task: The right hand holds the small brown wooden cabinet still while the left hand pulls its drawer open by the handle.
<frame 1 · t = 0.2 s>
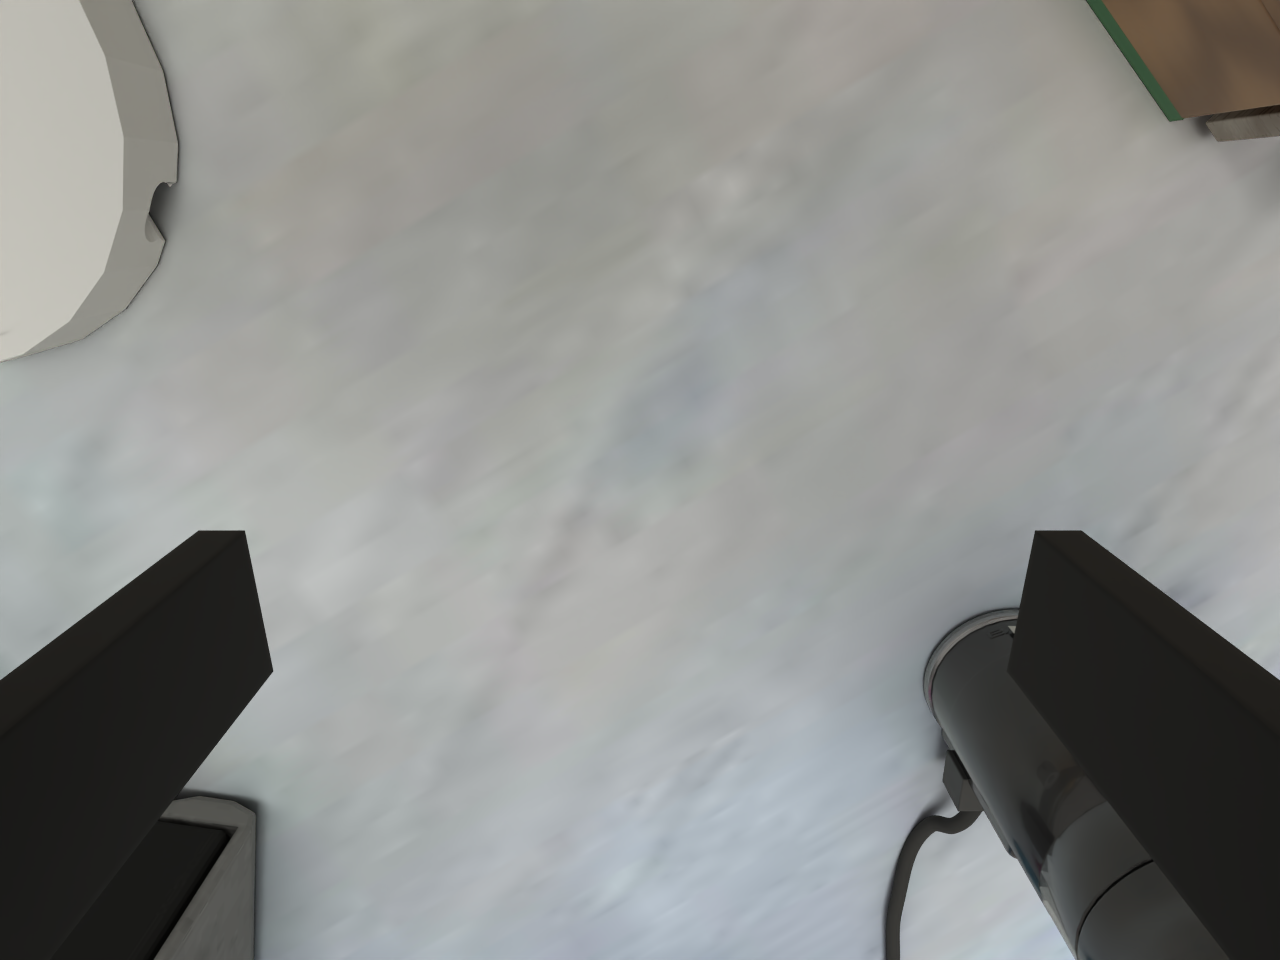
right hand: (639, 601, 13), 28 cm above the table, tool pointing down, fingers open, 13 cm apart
electronic device: (19, 878, 52), on the table
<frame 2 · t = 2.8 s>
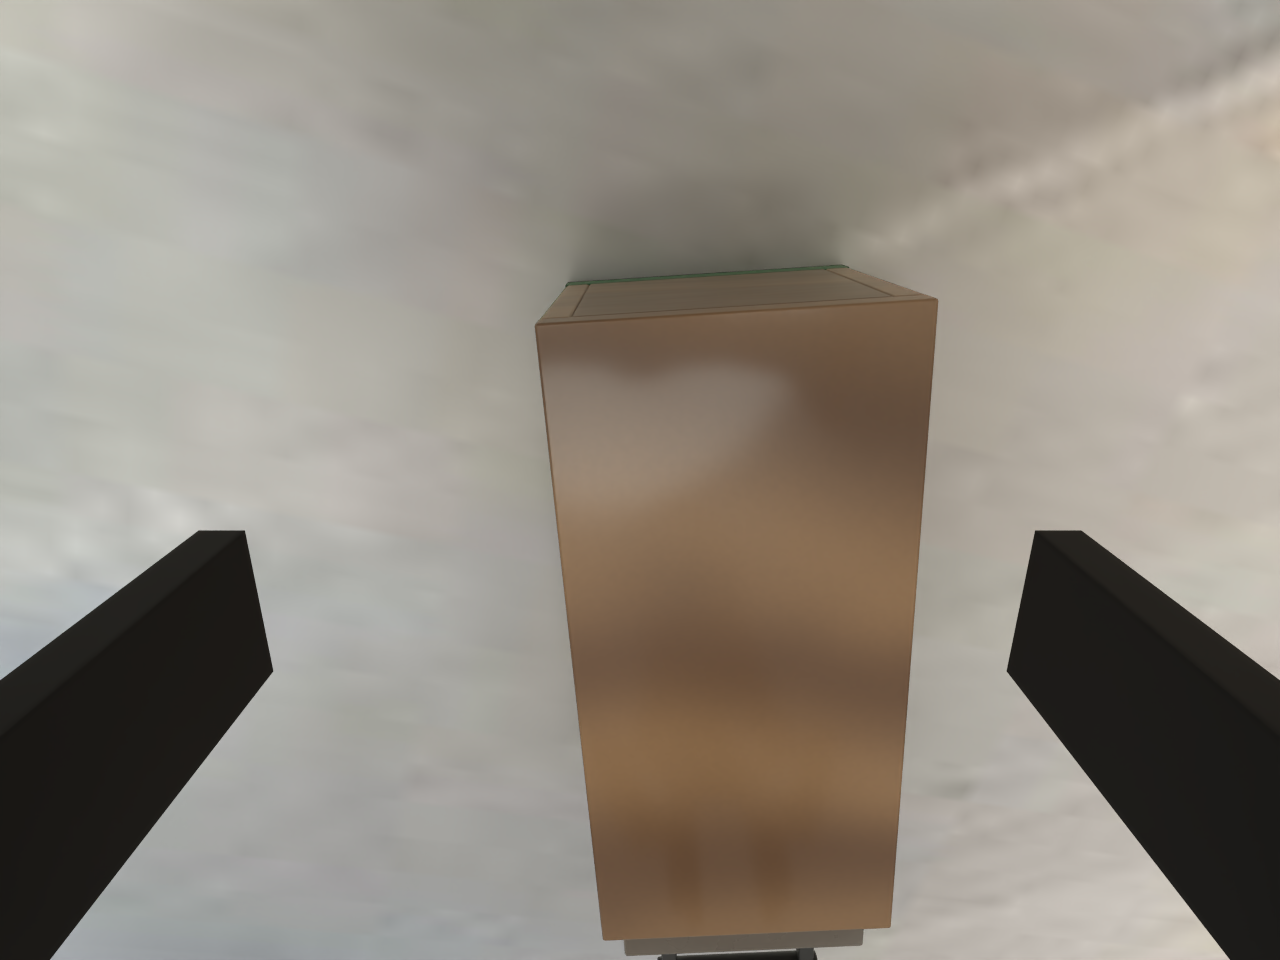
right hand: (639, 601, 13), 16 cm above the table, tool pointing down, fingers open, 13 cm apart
cabinet: (712, 539, 30), on the table
drawer: (728, 716, 28), point 5 cm above the table, slide at 0.8 cm
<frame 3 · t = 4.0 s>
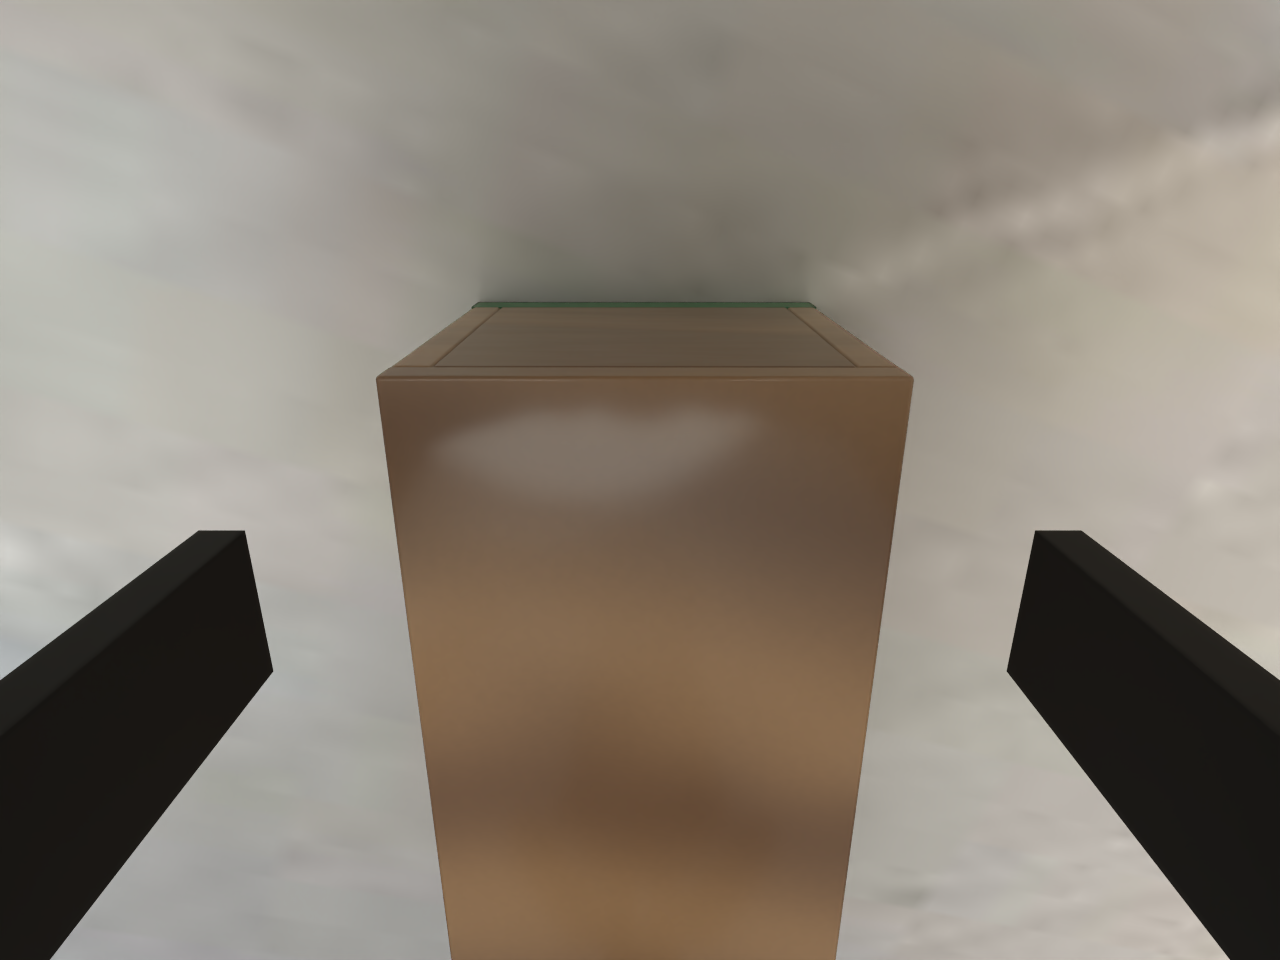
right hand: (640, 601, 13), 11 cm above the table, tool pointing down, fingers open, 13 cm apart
cabinet: (643, 610, 26), on the table
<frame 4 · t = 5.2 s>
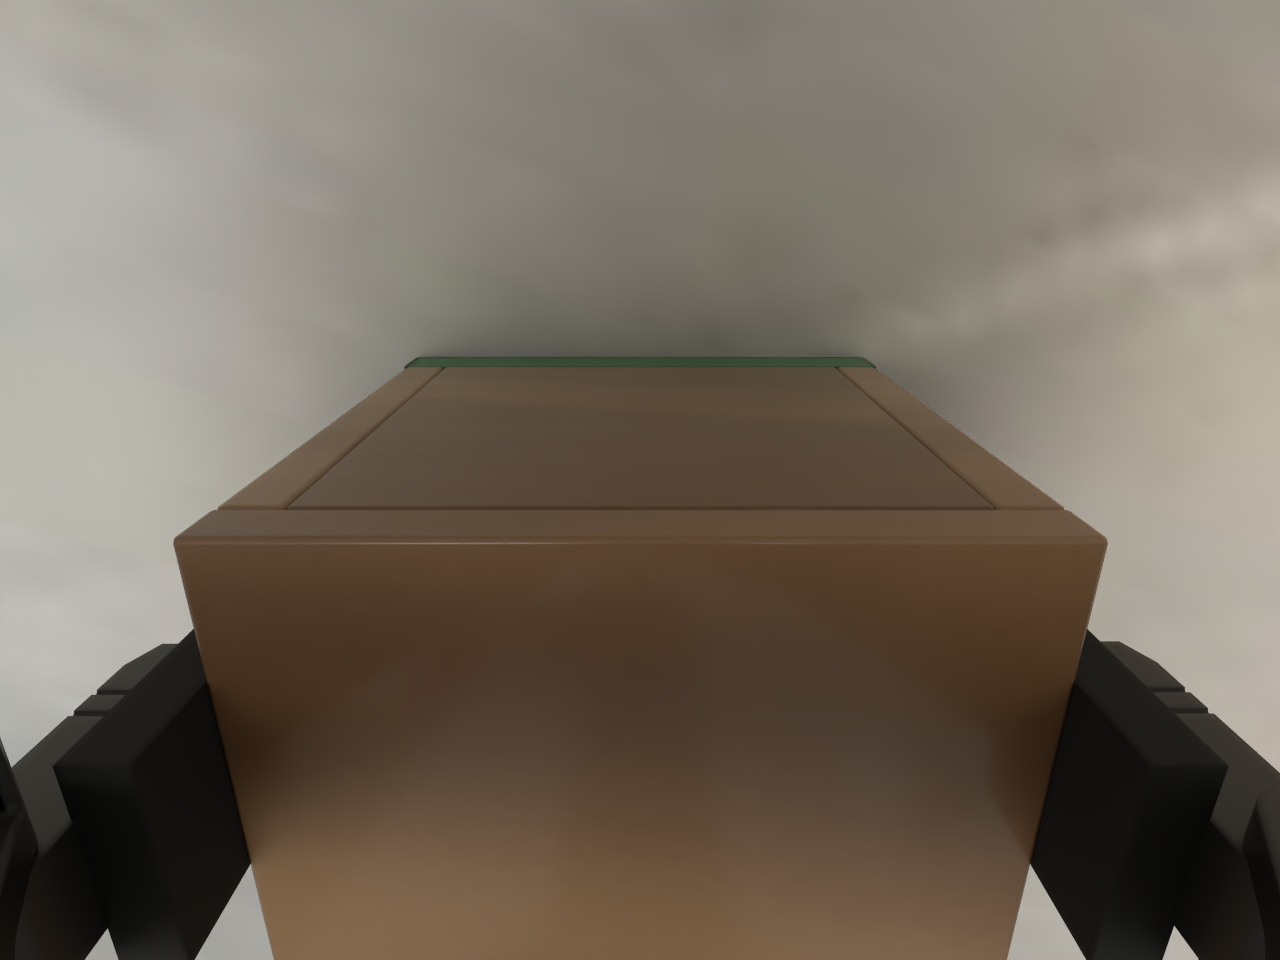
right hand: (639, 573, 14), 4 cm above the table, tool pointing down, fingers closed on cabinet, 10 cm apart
cabinet: (640, 745, 20), on the table, touching right hand
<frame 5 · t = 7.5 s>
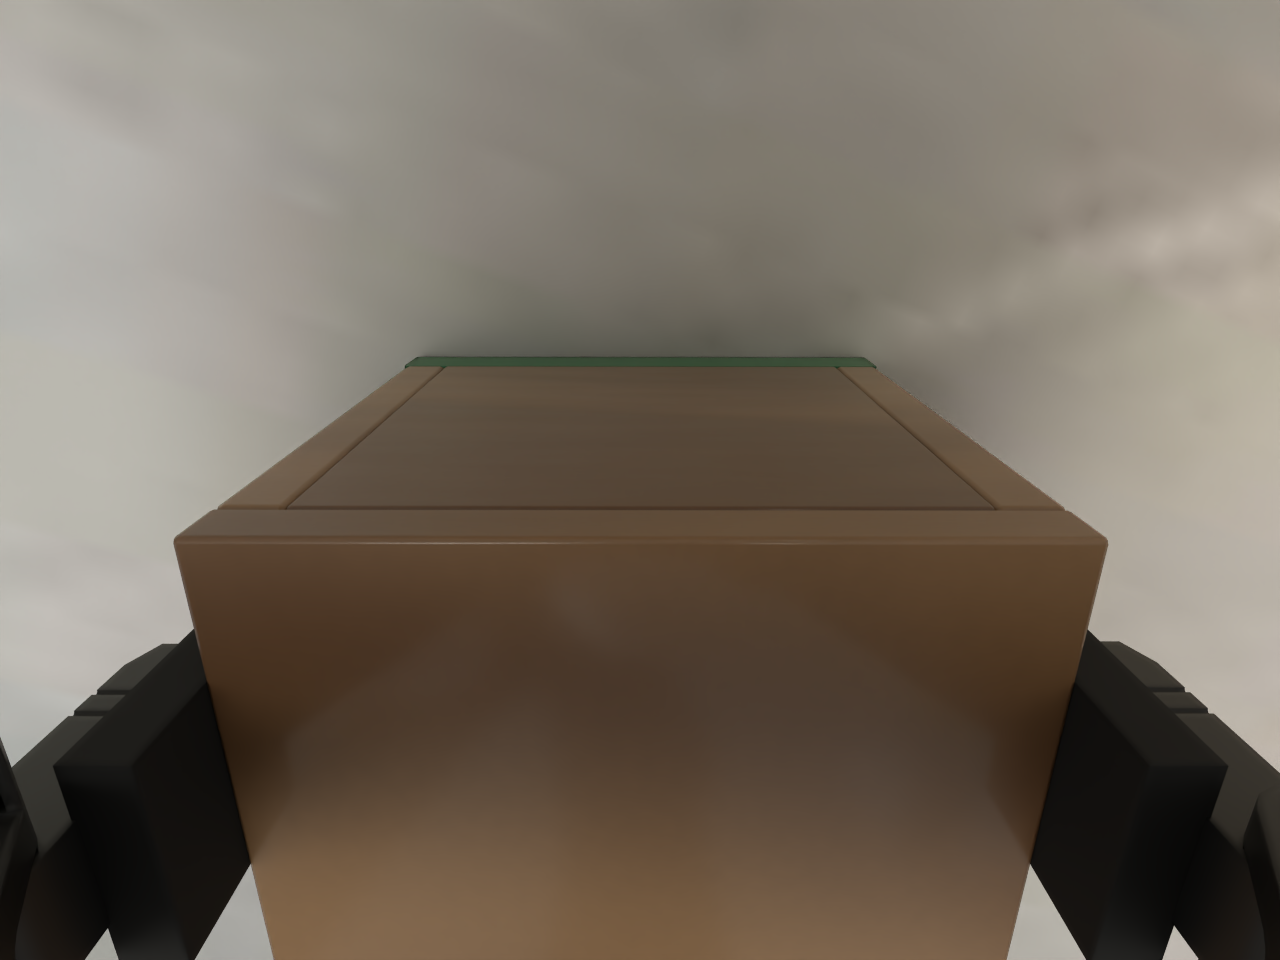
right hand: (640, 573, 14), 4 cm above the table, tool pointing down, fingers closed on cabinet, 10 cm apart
cabinet: (640, 744, 20), on the table, touching right hand
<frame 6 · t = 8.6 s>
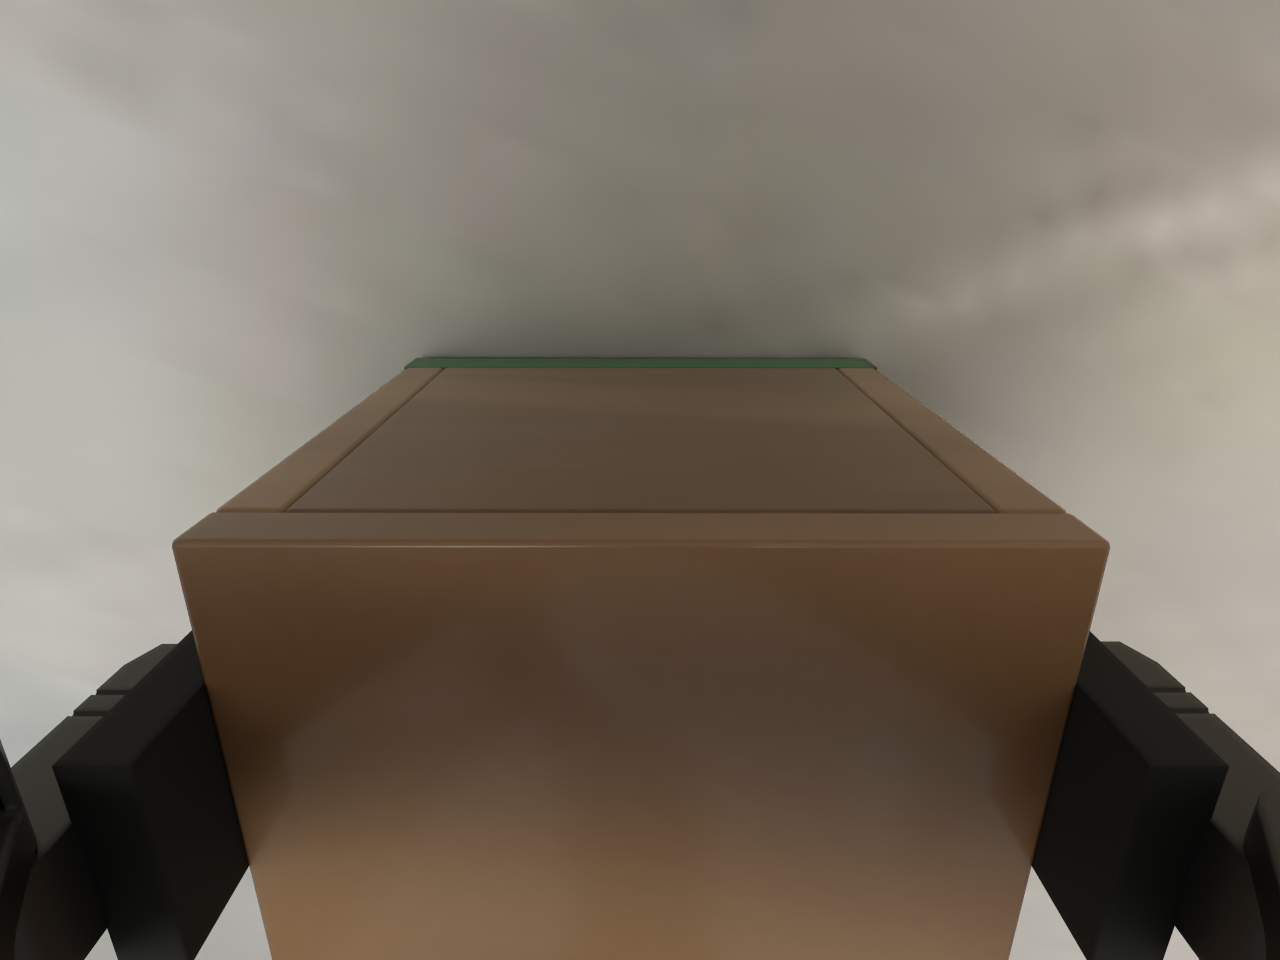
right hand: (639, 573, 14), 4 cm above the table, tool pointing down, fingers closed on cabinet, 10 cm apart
cabinet: (640, 746, 20), on the table, touching right hand
when the right hand's fingers open (4 cm above the table, at t = 10.1 s): cabinet stays where it is, on the table.
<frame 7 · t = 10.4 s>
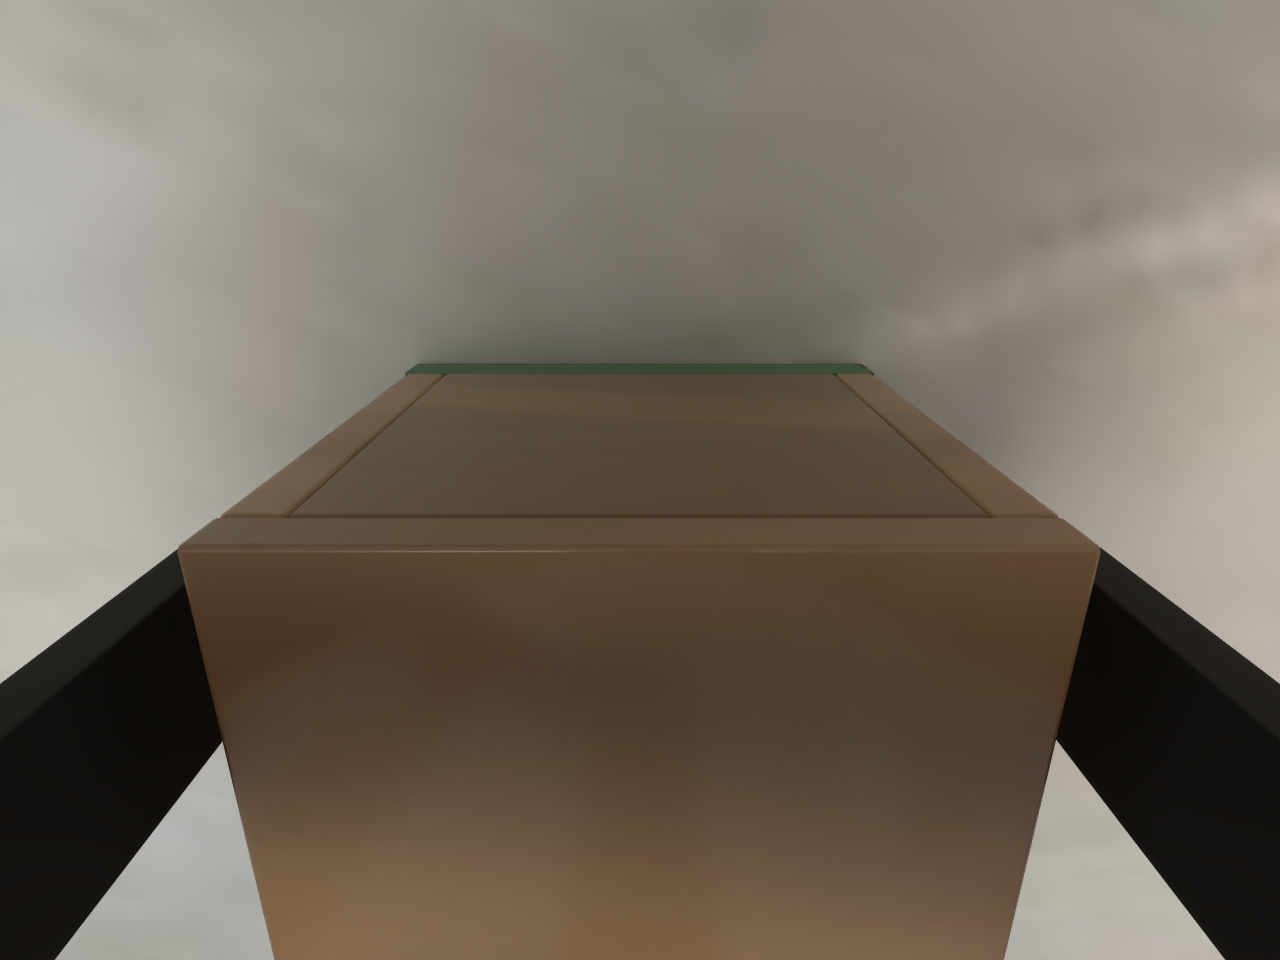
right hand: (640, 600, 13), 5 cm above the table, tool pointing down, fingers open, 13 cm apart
cabinet: (639, 749, 20), on the table
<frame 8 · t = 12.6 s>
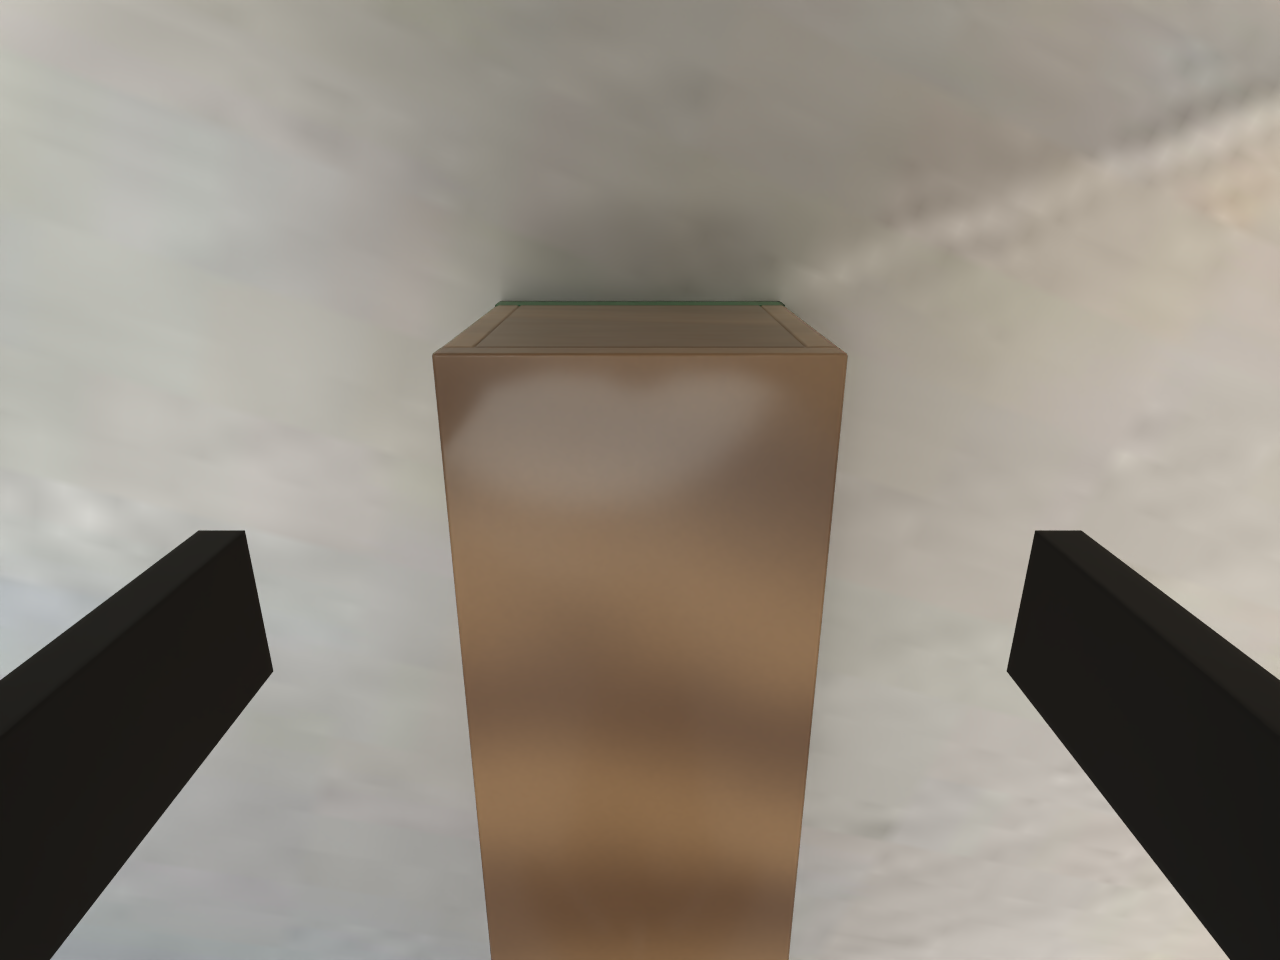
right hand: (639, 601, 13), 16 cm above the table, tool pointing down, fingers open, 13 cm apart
cabinet: (640, 569, 30), on the table
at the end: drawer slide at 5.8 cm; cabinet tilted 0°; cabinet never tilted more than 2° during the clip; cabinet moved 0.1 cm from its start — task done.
